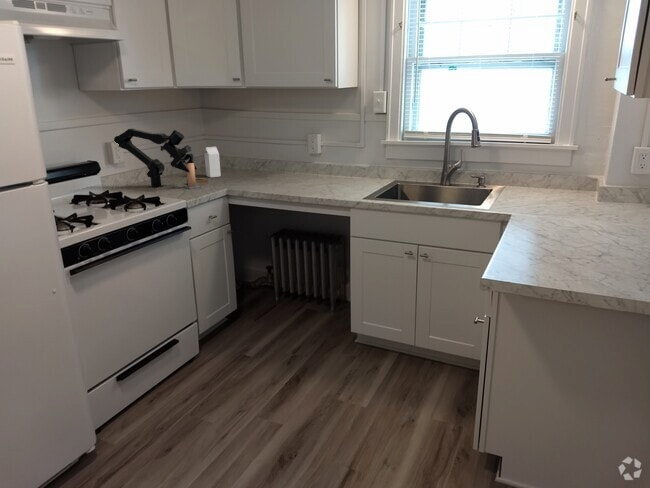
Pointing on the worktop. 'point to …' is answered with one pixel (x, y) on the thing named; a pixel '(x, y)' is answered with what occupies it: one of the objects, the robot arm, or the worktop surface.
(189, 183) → the peach rounded cylinder
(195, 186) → the slate rubber pad
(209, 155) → the milk carton
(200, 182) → the walnut socket block
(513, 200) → the worktop surface
